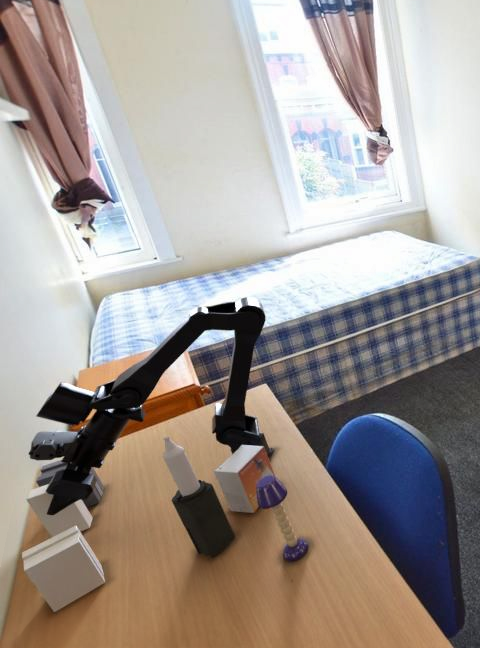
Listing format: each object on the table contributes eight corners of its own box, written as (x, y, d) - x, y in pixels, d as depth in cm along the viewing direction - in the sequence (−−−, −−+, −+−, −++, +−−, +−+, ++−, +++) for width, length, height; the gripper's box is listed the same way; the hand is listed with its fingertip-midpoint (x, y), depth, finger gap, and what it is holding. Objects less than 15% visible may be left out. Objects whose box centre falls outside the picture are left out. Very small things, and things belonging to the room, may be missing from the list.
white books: (101, 564, 85) (76, 525, 81) (106, 582, 82) (80, 541, 78) (50, 593, 81) (21, 552, 77) (53, 612, 77) (23, 571, 73)
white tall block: (93, 518, 96) (68, 477, 92) (90, 528, 94) (64, 486, 89) (58, 531, 94) (30, 489, 89) (54, 541, 91) (25, 499, 87)
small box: (253, 514, 93) (236, 473, 89) (230, 511, 94) (212, 471, 90) (279, 484, 100) (264, 445, 96) (257, 482, 101) (241, 443, 97)
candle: (238, 535, 89) (190, 428, 79) (214, 558, 84) (161, 448, 74) (218, 530, 90) (169, 424, 80) (194, 552, 86) (139, 443, 76)
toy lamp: (280, 567, 81) (250, 495, 75) (279, 547, 85) (250, 477, 78) (309, 554, 83) (282, 483, 77) (307, 535, 87) (281, 466, 80)
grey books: (104, 487, 104) (84, 452, 100) (100, 502, 100) (78, 466, 96) (64, 501, 101) (42, 465, 97) (58, 517, 97) (34, 481, 93)
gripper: (64, 395, 94) (19, 461, 93) (35, 445, 79) (-19, 524, 78) (128, 413, 101) (86, 475, 100) (112, 462, 85) (63, 535, 85)
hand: (56, 499), depth 91 cm, fingers open, 9 cm apart
